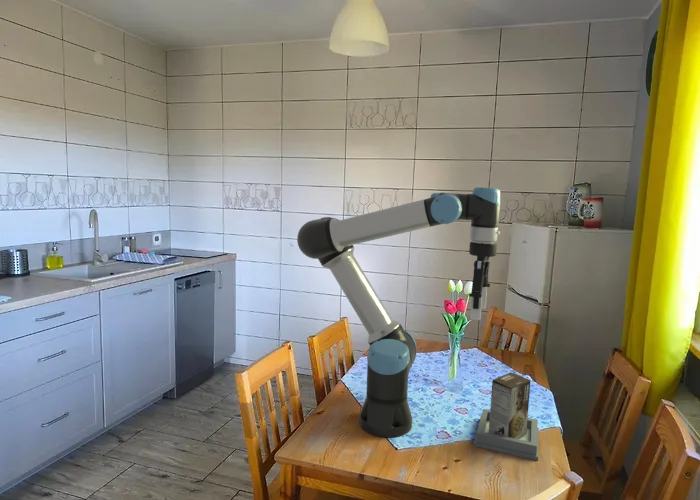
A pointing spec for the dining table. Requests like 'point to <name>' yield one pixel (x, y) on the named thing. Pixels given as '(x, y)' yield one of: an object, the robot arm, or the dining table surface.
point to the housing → (508, 439)
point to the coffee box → (509, 406)
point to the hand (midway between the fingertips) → (478, 313)
